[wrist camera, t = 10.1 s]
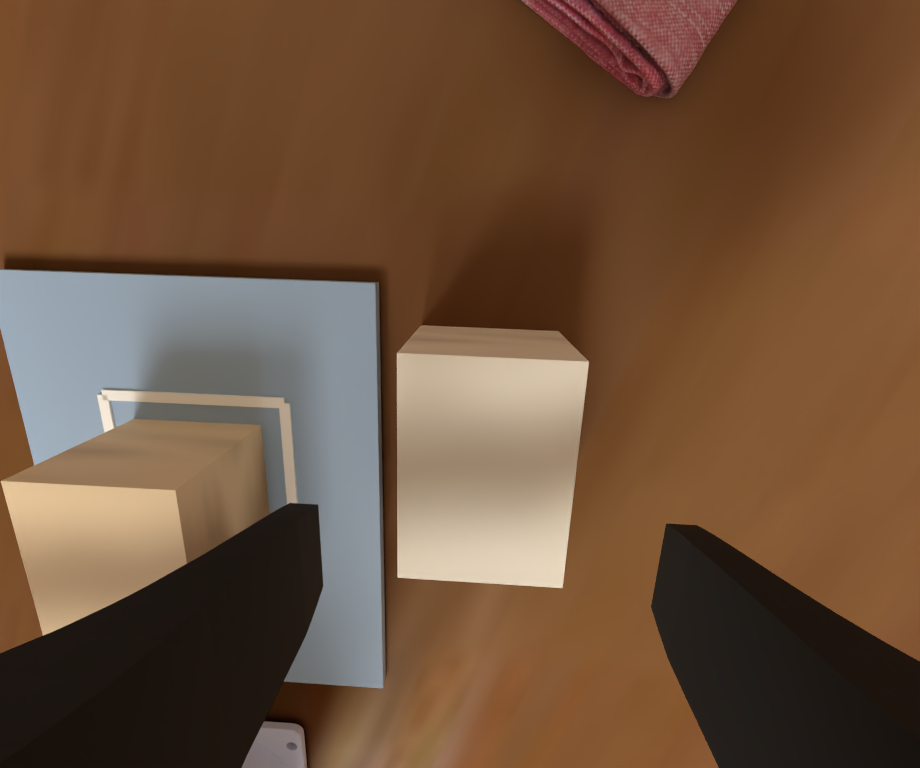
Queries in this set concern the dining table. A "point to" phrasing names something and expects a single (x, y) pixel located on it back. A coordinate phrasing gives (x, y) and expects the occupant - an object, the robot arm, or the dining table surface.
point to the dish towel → (639, 36)
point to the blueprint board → (229, 406)
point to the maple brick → (132, 510)
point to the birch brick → (487, 454)
